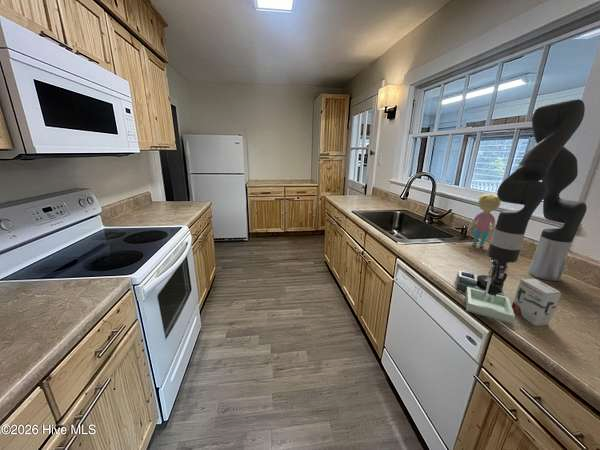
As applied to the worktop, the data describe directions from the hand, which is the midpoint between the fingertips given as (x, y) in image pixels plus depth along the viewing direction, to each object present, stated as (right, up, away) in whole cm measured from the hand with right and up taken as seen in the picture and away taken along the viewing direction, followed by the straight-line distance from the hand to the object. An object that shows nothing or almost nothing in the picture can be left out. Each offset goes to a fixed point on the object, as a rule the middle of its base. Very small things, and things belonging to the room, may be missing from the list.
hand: (491, 291), depth 81 cm
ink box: (+10, -8, -2) cm, 13 cm away
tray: (0, -6, +2) cm, 6 cm away
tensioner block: (+5, -3, +13) cm, 14 cm away
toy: (+36, +10, +55) cm, 66 cm away
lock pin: (0, -3, +1) cm, 3 cm away
